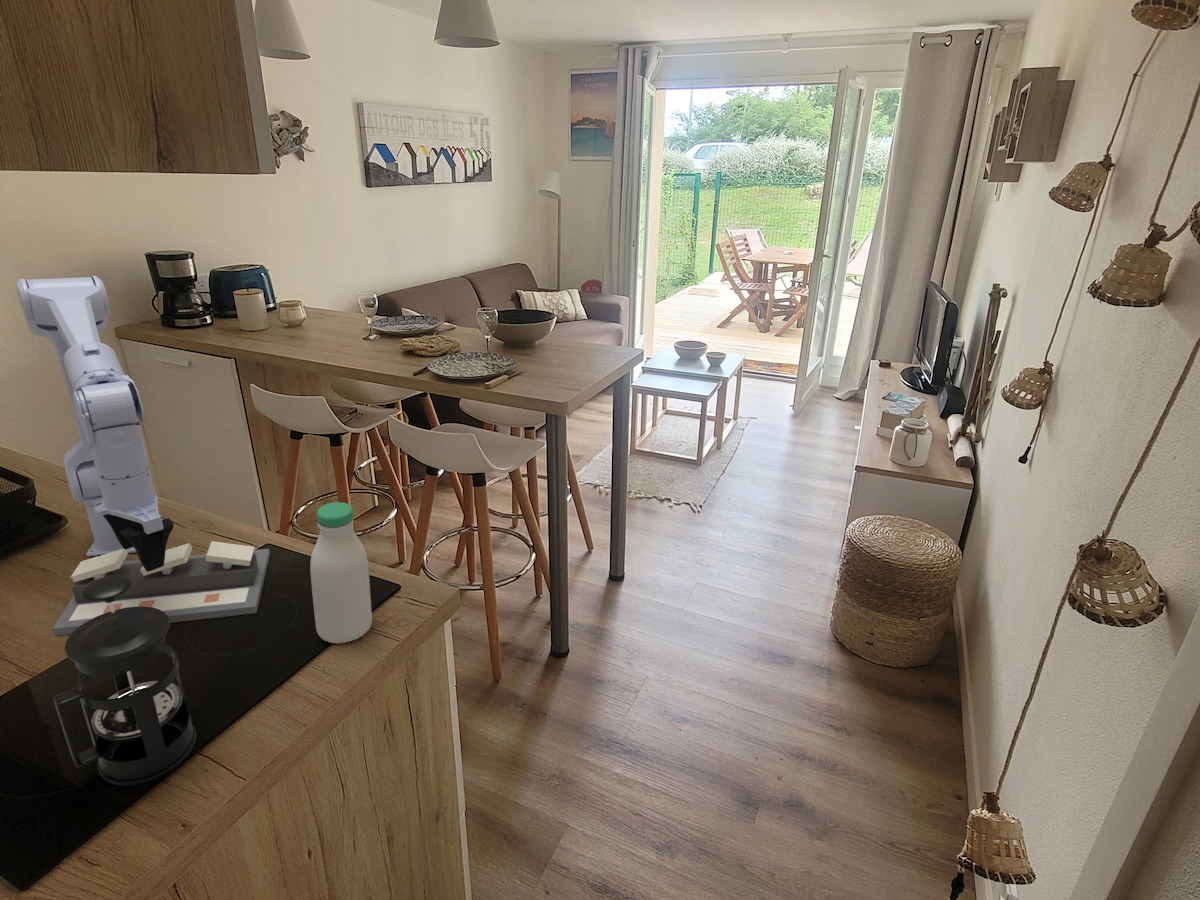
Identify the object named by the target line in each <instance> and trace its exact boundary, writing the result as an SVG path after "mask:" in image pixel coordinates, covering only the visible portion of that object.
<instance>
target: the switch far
mask: <svg viewBox="0 0 1200 900" xmlns="http://www.w3.org/2000/svg"><path fill="white" fill-rule="evenodd" d="M254 550H255V546H252V545H243V544H236V543H235V544H234V543H229V542H221V541H213V540H212V541H211V542H210V545H209V547H208V549H207V553H206V554H207V555H206V560H205V561H210V562H219V563H223V568H225V569H230V568H231V567H232V564H235V565H244V566H250V562H251V559H252V555H253V551H254Z"/></svg>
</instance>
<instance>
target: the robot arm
mask: <svg viewBox="0 0 1200 900" xmlns="http://www.w3.org/2000/svg"><path fill="white" fill-rule="evenodd" d="M15 286H16V290H17V291H16V292H17V296H18V300H19V302H20V306H21V307H20V308H21V311H22V313H23V317H24V318H25V321H26V325H27V328H28V330H30V331H31V334H32V335H33V336H34V335H35V336H37V337H38V336H39V337H43V338H44V337H45V338H47V339H48V340H49V342H50V343H51V344H52V345H53V347H54V348H55V351H56V353H57V357H58V362H59V365H60V369H61V371H62V377H63V380H64V384H65V388H66V391H67V394H68V398H69V401H70V405H71V406H70V407H71V409H72V413H73V418H74V421H75V425H76V429H77V432H78V436H79V441H78V442H77V443H76V444H74V445H73V446H72V447H70V449H69V450H67V452H66V453H65V454H64V457H63V463H64V467H65V468H64V470H65V471H64V472H65V475H66V479H67V482H68V486H69V490H70V493H71V495H72V499H73V501H76V502H78V503H84V505H85V509H86V514H87V518H88V521H89V526H90V529H91V532H92V533H91V534H92V536H93V540H94V541H93V542H92V544H91V546H90V547H89V548H88V550H87V552H86V554H85V555H86V557H97V556H98V555H100V556H101V555H104V554H107V553H111V552H114V551H117V550H120V549H125V550H126V551H127V553H128V554H133V553H136V554H137V557H138V560H140V562H141V564H142V565H143V567H144V568H145V570H146V571H147V572H149V571H152V570H155V569H157V568H160V567H163V566H164V561H165V551H166V550H167V544H168V539H169V537H170V535H171V533H172V531H173V529H174V525H175V524H174V521H173V520H172V519H170V518H169V517H168V518H164V519H163V518H162V516H161V514H159V499H158V494H157V493H156V491H155V489H154V488H155V486H154V482H153V478H152V473H151V468H150V464H149V460H148V454H147V449H146V444H145V440H144V435H143V430H142V425H141V424H142V423H144V418H145V416H144V405H143V402H142V398H141V394H140V392H139V390H138V388H137V385H136V384H135V382H134V380H133V379H132V378H131V377H130V376H129V375H125V372H124V371H123V368H122V365H121V363H120V360H119V358H118V356H117V353H116V351H115V350H114V349H113V347H111V346H110V345H107V344H105V343H103V342H101V338H100V335H99V332H101V331H103V330H106V329H107V324H108V323H109V320H110V319H109V318H110V316H111V308H110V307H111V306H110V302H109V297H108V293H107V290H106V287H105V284H104V282H103V280H102V279H101V278H99V277H98V276H97V275H91V276H90V277H87V276H85V277H82V276H81V277H60V278H59V277H58V278H56V277H55V278H38V279H37V278H35V279H34V278H33V279H25V278H19V279H18V281H17V282H16V283H15Z"/></svg>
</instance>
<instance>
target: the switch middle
mask: <svg viewBox="0 0 1200 900" xmlns="http://www.w3.org/2000/svg"><path fill="white" fill-rule="evenodd" d="M192 551H193V546H192V544H191V543H190V542H189V543H184V544H183V545H179V546H175V547H172V548H169V549H166V551H165V561H164V566H163V567H160V568H157V569H155V570H152V571H149V572H147V571H146V570H145V568H144V567H143V566H142V568H141V570H140V571H141V573H142V574H143V576H145V575H148V574H152V573H155V572H158V571H161V570H162V573H163V574H165V575H168V574H170V573H171V571H172V569H173V567H174V566H177V565H180V564H184V563H187V560H188V558H189V556H191V552H192Z"/></svg>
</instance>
